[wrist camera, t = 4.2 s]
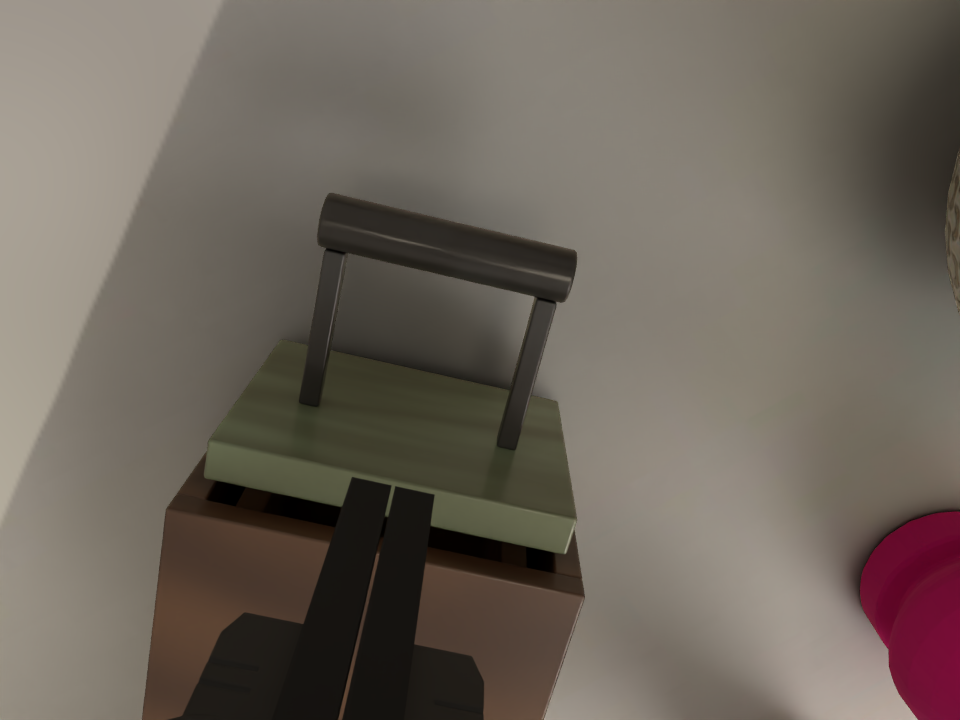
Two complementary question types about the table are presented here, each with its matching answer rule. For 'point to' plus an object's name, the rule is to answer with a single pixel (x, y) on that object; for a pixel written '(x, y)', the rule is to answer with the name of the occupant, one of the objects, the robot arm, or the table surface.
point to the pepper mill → (919, 611)
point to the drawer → (410, 402)
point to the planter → (954, 232)
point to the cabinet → (293, 577)
